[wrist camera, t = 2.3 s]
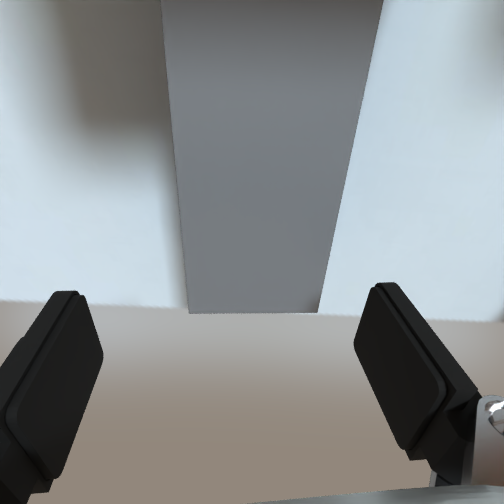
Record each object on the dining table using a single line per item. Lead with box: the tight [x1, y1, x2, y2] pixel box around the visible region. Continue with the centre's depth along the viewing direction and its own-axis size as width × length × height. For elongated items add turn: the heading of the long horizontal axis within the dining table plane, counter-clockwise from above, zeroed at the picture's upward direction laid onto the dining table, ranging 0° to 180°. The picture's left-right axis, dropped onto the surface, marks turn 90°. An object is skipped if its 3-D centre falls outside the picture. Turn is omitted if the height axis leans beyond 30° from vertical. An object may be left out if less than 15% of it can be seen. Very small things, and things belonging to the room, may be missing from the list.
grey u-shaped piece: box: [160, 0, 383, 314], centre depth 13 cm, size 14×6×5 cm, turn 178°
